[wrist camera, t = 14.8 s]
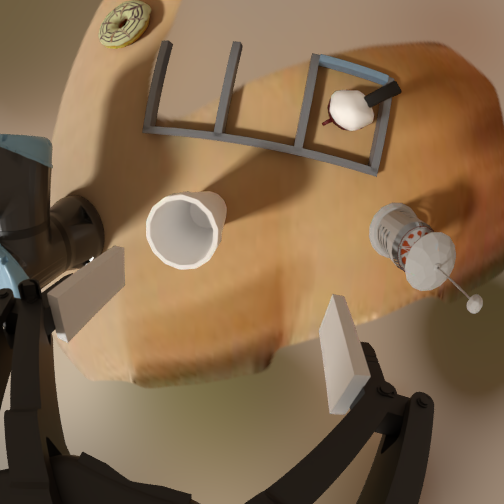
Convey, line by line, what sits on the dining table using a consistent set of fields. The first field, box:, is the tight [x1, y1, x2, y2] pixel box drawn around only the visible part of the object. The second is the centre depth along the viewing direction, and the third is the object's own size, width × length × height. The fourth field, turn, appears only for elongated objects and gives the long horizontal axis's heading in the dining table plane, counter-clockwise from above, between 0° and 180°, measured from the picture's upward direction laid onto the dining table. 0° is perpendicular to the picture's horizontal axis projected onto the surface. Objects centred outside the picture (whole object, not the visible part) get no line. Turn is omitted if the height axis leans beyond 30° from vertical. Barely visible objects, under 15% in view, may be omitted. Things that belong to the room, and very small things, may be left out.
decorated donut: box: [99, 0, 151, 49], centre depth 31 cm, size 10×11×4 cm
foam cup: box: [146, 191, 227, 270], centre depth 38 cm, size 10×9×13 cm
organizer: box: [142, 41, 394, 177], centre depth 36 cm, size 37×17×2 cm, turn 80°
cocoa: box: [322, 81, 401, 131], centre depth 31 cm, size 10×6×12 cm, turn 100°
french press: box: [369, 203, 483, 314], centre depth 30 cm, size 10×12×25 cm
